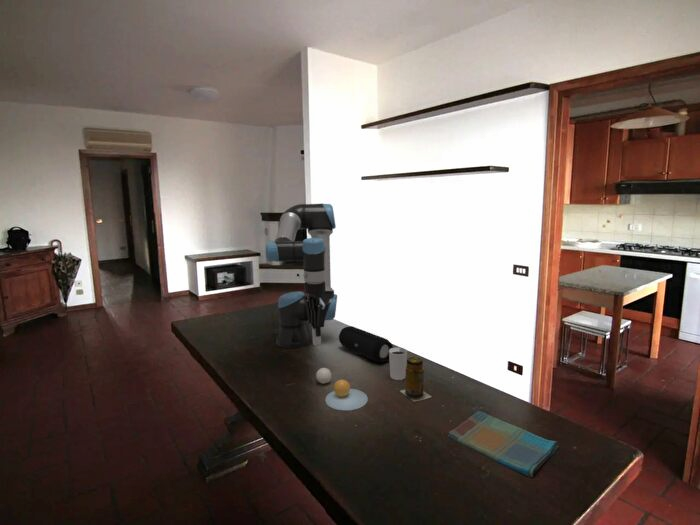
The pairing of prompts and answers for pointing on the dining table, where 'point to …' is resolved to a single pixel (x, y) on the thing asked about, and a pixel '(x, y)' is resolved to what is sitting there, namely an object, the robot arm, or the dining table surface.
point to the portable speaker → (365, 343)
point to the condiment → (415, 380)
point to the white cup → (398, 363)
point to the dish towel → (504, 443)
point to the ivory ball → (323, 375)
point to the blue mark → (347, 400)
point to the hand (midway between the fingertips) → (317, 343)
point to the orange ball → (341, 388)
